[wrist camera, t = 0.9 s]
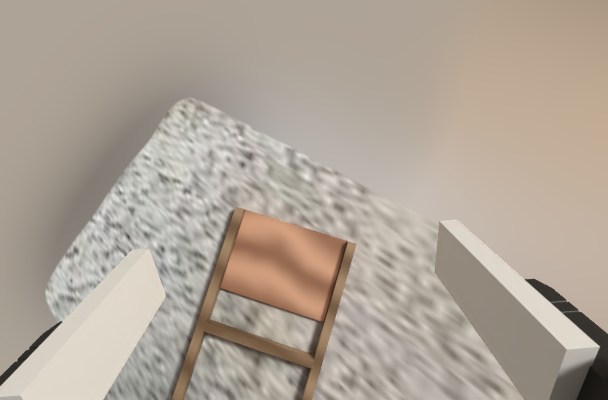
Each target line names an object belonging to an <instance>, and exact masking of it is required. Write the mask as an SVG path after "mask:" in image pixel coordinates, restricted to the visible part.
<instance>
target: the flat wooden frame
mask: <svg viewBox="0 0 608 400" xmlns="http://www.w3.org/2000/svg"><path fill="white" fill-rule="evenodd" d="M346 242H347V243H346ZM345 246H346V247H345ZM355 247H356V244H355V243H351V242H348V241H345V240H342V239H338V238H335V237H332V236H329V235H325V234H322V233H319V232H316V231H312V230H309V229H306V228H303V227H299V226H296V225H293V224H290V223H287V222H283V221H280V220H277V219H274V218H270V217H267V216H264V215H261V214H257V213H254V212H251V211H248V210H244V209H241V208H238V207H235V210H234V213H233V216H232V219H231V222H230V225H229V228H228V231H227V234H226V237H225V240H224V243H223V246H222V249H221V252H220V255H219V258H218V261H217V264H216V268H215V271H214V274H213V277H212V280H211V283H210V286H209V289H208V292H207V295H206V298H205V301H204V304H203V307H202V310H201V313H200V316H199V319H198V322H197V325H196V328H195V331H194V334H193V337H192V340H191V343H190V346H189V349H188V352H187V355H186V358H185V361H184V364H183V367H182V370H181V373H180V376H179V379H178V382H177V385H176V388H175V391H174V394H173V397H172V400H184V397H185V394H186V391H187V388H188V385H189V382H190V379H191V376H192V373H193V370H194V367H195V364H196V361H197V358H198V355H199V352H200V349H201V345H202V342H203V339H204V336H205V333H206V332H207V333H210V334H212V335H215V336H218V337H221V338H224V339H227V340H230V341H233V342H236V343H238V344H241V345H244V346H247V347H250V348H253V349H256V350H259V351H262V352H265V353H267V354H270V355H273V356H276V357H279V358H282V359H285V360H288V361H291V362H293V363H296V364H299V365H302V366H305V367H308V368H310V371H309V374H308V378H307V381H306V385H305V388H304V391H303V395H302V398H301V400H312V397H313V394H314V390H315V387H316V383H317V380H318V376H319V373H320V369H321V366H322V362H323V359H324V355H325V352H326V348H327V345H328V341H329V338H330V334H331V331H332V327H333V324H334V320H335V317H336V313H337V310H338V306H339V303H340V299H341V296H342V293H343V289H344V286H345V282H346V279H347V275H348V272H349V268H350V265H351V261H352V258H353V254H354V251H355ZM344 249H345V250H344ZM343 253H344V254H343ZM342 256H343V257H342ZM341 260H342V261H341ZM340 263H341V264H340ZM338 270H339V271H338ZM337 273H338V274H337ZM336 277H337V278H336ZM335 280H336V281H335ZM334 284H335V285H334ZM333 287H334V288H333ZM220 288H222V289H225V290H228V291H231V292H234V293H237V294H240V295H243V296H246V297H249V298H252V299H255V300H258V301H261V302H264V303H267V304H270V305H273V306H276V307H279V308H282V309H285V310H288V311H291V312H294V313H297V314H300V315H303V316H306V317H309V318H312V319H315V320H318V321H321V322H324V323H323V326H322V329H321V333H320V336H319V340H318V343H317V347H316V350H315V354H314V355H312V354H309V353H306V352H304V351H301V350H298V349H295V348H292V347H289V346H286V345H283V344H280V343H277V342H274V341H271V340H268V339H266V338H263V337H260V336H257V335H254V334H251V333H248V332H245V331H242V330H239V329H236V328H233V327H230V326H227V325H225V324H222V323H219V322H216V321H213V320H210V318H211V315H212V312H213V309H214V306H215V303H216V300H217V297H218V294H219V291H220ZM332 291H333V292H332ZM331 294H332V295H331ZM329 301H330V302H329ZM328 304H329V305H328ZM327 308H328V309H327ZM326 311H327V312H326ZM325 315H326V316H325ZM324 318H325V319H324Z"/></svg>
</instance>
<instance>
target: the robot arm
mask: <svg viewBox="0 0 608 400" xmlns="http://www.w3.org/2000/svg"><path fill="white" fill-rule="evenodd" d="M435 273H436V275H437V276H438V278H439V279H440V280H441V282H442V283H443V285H444V286H445V288H446V289H447V290H448V292H449V293H450V295H451V296H452V297H453V299H454V300H455V302H456V303H457V305H458V306H459V307H460V309H461V310H462V312H463V313H464V314H465V316H466V317H467V319H468V320H469V321H470V323H471V324H472V326H473V327H474V329H475V330H476V331H477V333H478V334H479V336H480V337H481V338H482V340H483V341H484V343H485V344H486V346H487V347H488V348H489V350H490V351H491V353H492V354H493V355H494V357H495V358H496V360H497V361H498V363H499V364H500V365H501V367H502V368H503V370H504V371H505V372H506V374H507V375H508V377H509V378H510V380H511V381H512V382H513V384H514V385H515V387H516V388H517V389H518V391H519V392H520V394H521V395H522V397H523V398H524V399H525V400H608V334H607V333H606V332H605V331H603V330H602V329H601V328H600V327H599V326H597V325H596V324H595V323H594V322H593V321H591V320H590V319H589V318H588V317H586V316H585V315H584V314H583V313H582V312H579V311H578V309H577V308H575V307H574V306H573V305H572V304H571V303H570V302H567V301H566V299H565V298H564V297H562V296H561V295H560V294H559V293H557V292H556V291H555V290H554V289H552V288H551V287H549V286H547V285H545V284H543V283H541V282H539V281H537V280H535V279H525V280H524V279H523V278H522V277H521V276H520V275H519V274H517V273H516V272H515V271H514V270H513V269H512V268H511V267H509V266H508V265H507V264H506V263H505V262H504V261H503V260H502V259H500V258H499V257H498V256H497V255H496V254H495V253H494V252H493V251H491V250H490V249H489V248H488V247H487V246H486V245H485V244H484V243H483V242H481V241H480V240H479V239H478V238H477V237H476V236H475V235H474V234H472V233H471V232H470V231H469V230H468V229H467V228H466V227H465V226H463V225H462V224H461V223H460V222H459V221H458V220H448V221H440V222H439V233H438V243H437V253H436V263H435ZM165 297H166V295H165V292H164V289H163V287H162V284H161V281H160V278H159V275H158V272H157V270H156V267H155V264H154V261H153V258H152V255H151V252H150V250H149V248H145V249H134V250H132V251H131V252H130V253H129V254H128V255H127V256H126V257H125V258H124V259H123V260H122V261H121V262H120V263H119V264H118V265H117V266H116V267H115V268H114V269H113V270H112V271H111V272H110V273H109V274H108V275H107V276H106V277H105V279H104V280H103V281H102V282H101V283H100V284H99V285H98V286H97V287H96V288H95V289H94V290H93V291H92V292H91V293H90V294H89V295H88V296H87V297H86V298H85V299H84V300H83V301H82V302H81V303H80V304H79V305H78V306H77V308H76V309H75V310H74V311H73V312H72V313H71V314H70V315H69V316H68V317H67V318H66V319H65V320H64V321H60V322H59V323H58V324H56V325H55V326H53V327H52V328H51V329H49V330H48V331H46V332H45V333H43V334H42V335H41V336H40V337H39V338H38V339H37V340H36V341H35V342H34V343H33V344H32V346H30V349H29V350H26V351H25V352H24V353H23V354H22V355H21V356H20V357H19V358H18V361H17V362H14V363H13V364H12V365H11V366H10V367H9V368H8V369H7V370H6V371H5V372H4V373H3V374H2V375H1V376H0V400H103V399H104V397H105V396H106V394H107V393H108V391H109V389H110V388H111V386H112V384H113V383H114V381H115V379H116V378H117V376H118V374H119V373H120V371H121V369H122V368H123V366H124V364H125V363H126V361H127V359H128V358H129V356H130V355H131V353H132V351H133V350H134V348H135V346H136V345H137V343H138V341H139V340H140V338H141V336H142V335H143V333H144V331H145V330H146V328H147V326H148V325H149V323H150V322H151V320H152V318H153V317H154V315H155V313H156V312H157V310H158V308H159V307H160V305H161V303H162V302H163V300H164V298H165Z"/></svg>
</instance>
